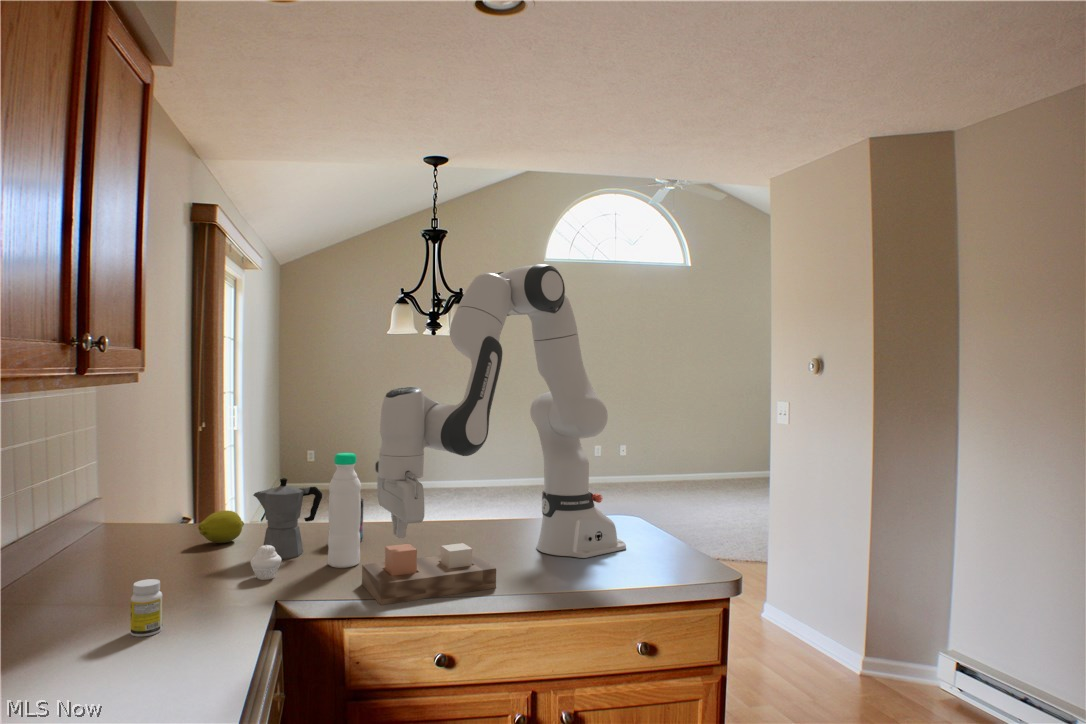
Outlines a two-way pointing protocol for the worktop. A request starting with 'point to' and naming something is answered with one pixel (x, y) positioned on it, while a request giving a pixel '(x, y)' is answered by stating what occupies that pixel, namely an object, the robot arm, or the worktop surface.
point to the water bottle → (344, 513)
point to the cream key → (456, 555)
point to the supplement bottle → (146, 608)
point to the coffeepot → (286, 516)
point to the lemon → (221, 526)
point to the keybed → (427, 580)
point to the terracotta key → (400, 559)
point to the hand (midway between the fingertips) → (399, 536)
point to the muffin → (266, 562)
